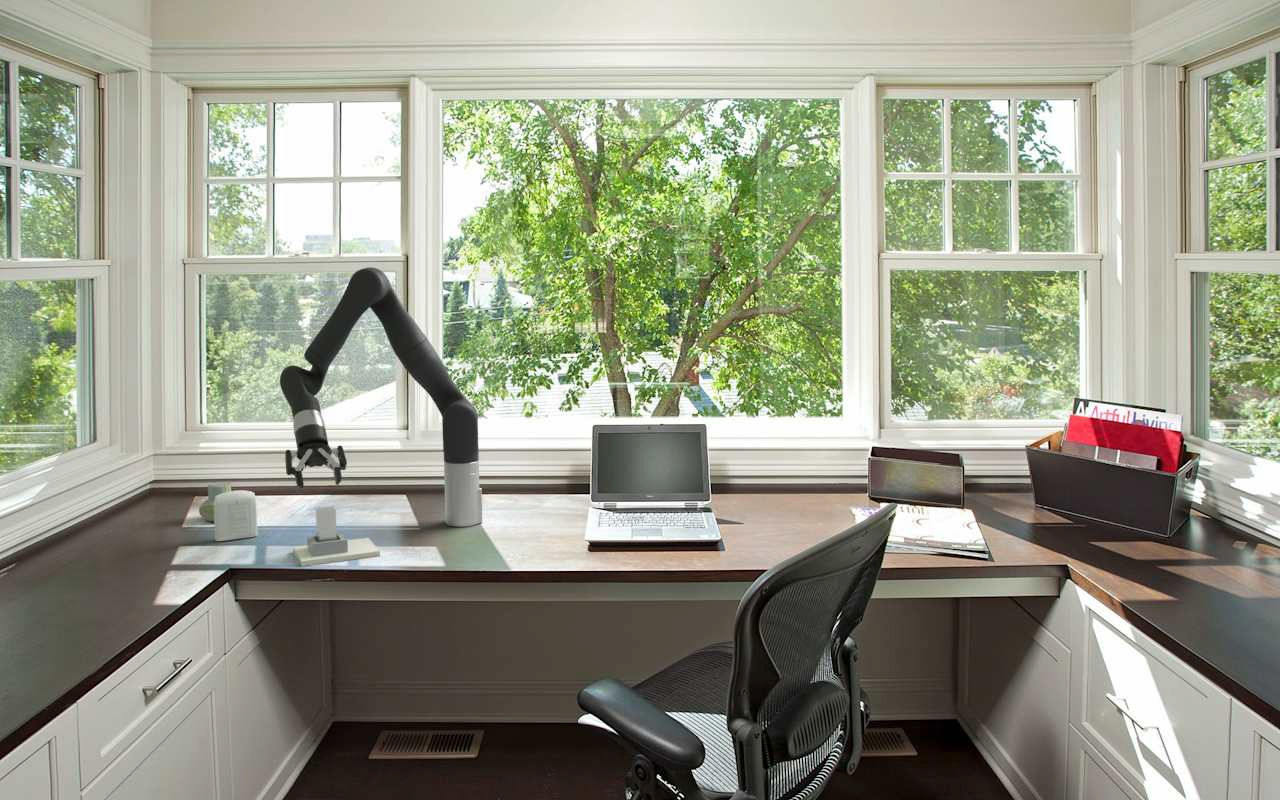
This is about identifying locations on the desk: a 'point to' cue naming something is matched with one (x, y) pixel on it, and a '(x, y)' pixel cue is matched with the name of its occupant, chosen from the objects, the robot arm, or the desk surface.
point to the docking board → (334, 550)
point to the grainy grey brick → (326, 524)
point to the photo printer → (235, 515)
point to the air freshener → (213, 499)
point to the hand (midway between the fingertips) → (320, 484)
